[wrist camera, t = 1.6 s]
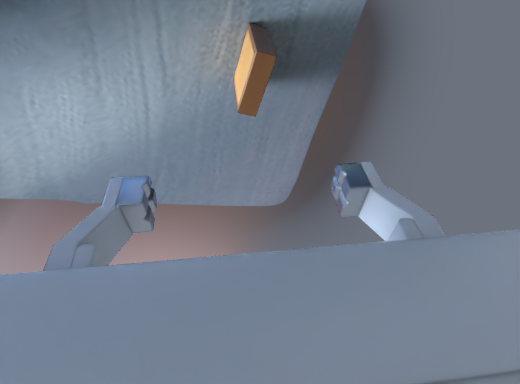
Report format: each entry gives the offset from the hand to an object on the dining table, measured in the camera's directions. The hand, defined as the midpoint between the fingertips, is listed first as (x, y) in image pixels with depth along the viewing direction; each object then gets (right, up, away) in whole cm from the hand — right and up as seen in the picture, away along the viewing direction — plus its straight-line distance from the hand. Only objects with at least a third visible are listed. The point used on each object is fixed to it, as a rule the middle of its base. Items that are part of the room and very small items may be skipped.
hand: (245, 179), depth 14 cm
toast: (-1, +18, +29) cm, 34 cm away
